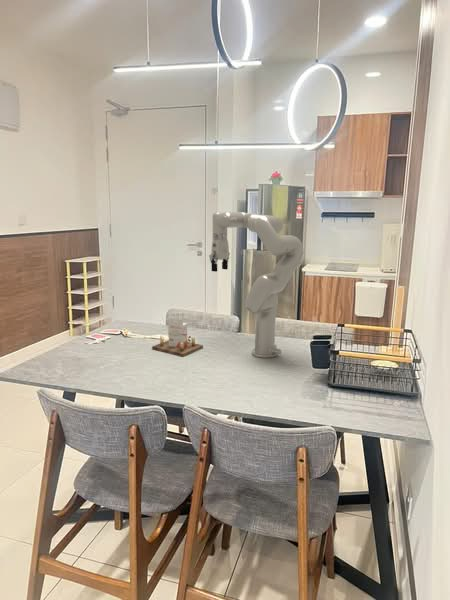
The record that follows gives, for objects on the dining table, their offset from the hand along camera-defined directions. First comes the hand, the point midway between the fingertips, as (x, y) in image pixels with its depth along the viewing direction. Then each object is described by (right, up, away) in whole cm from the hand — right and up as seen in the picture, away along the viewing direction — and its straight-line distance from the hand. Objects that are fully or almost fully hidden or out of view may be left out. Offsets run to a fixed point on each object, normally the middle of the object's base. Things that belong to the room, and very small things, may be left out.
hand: (219, 270), depth 221 cm
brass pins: (-21, -39, -6) cm, 44 cm away
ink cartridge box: (-21, -39, -6) cm, 45 cm away
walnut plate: (-21, -40, -5) cm, 46 cm away
